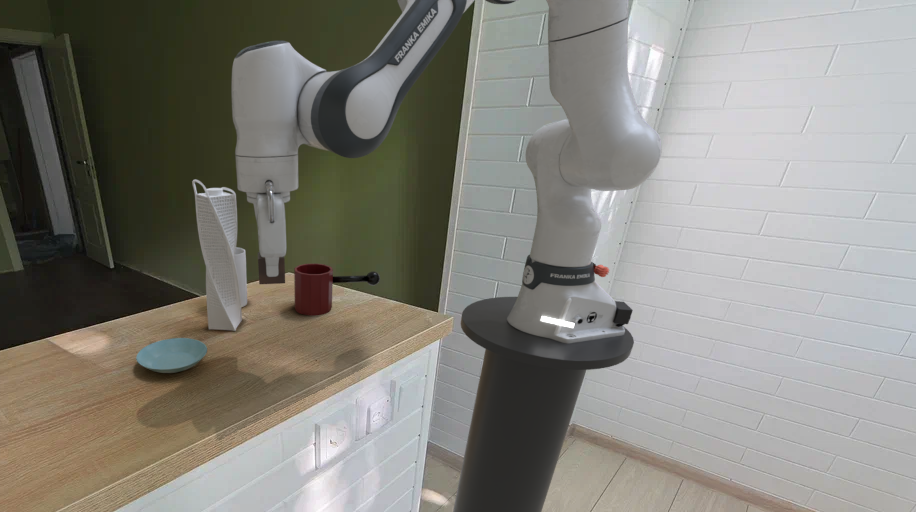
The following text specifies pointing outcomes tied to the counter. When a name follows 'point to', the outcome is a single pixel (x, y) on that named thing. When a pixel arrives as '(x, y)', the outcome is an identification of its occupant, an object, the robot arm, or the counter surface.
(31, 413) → the counter surface
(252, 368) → the counter surface
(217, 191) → the skyscraper
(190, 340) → the saucer
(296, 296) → the pot
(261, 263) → the block
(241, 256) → the mug
